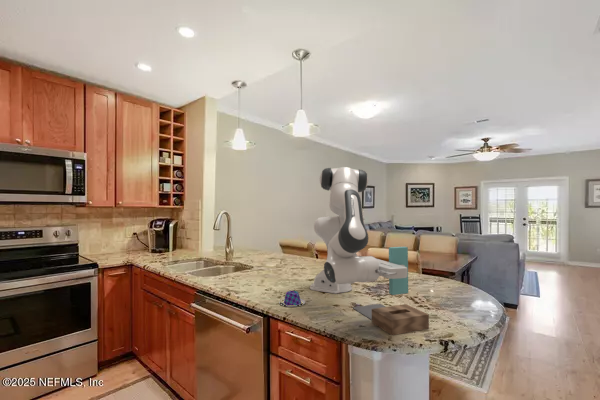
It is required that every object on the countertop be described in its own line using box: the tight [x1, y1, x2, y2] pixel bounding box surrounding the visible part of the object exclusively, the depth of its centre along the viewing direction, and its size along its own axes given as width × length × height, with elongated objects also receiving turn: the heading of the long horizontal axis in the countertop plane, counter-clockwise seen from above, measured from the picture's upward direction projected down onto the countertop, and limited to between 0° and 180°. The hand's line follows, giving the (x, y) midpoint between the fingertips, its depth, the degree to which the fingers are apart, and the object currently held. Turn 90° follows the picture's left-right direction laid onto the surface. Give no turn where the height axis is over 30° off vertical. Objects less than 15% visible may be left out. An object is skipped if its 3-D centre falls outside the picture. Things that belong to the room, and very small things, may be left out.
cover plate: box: [388, 246, 409, 296], centre depth 108 cm, size 7×2×17 cm, turn 110°
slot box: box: [371, 303, 430, 336], centre depth 107 cm, size 16×12×5 cm
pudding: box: [278, 290, 306, 308], centre depth 133 cm, size 12×12×5 cm
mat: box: [352, 303, 387, 321], centre depth 121 cm, size 14×14×1 cm
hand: (400, 266), depth 108 cm, fingers closed on cover plate, 2 cm apart
